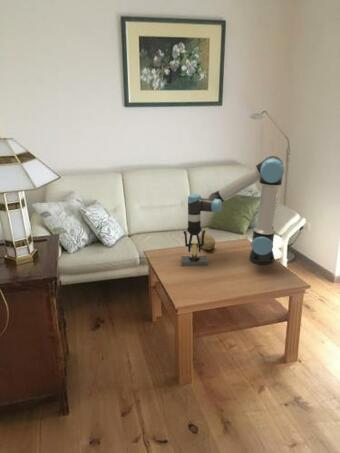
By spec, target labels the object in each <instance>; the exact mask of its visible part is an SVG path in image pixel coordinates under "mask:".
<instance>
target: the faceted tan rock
mask: <svg viewBox="0 0 340 453" xmlns="http://www.w3.org/2000/svg"><path fill="white" fill-rule="evenodd" d="M198 236H199V241H200V244H201V239H202V234H201V235H198ZM215 247H216V240H215V239H214V237H213V235H211V234H208V233H205V234H204V245H203V246H201V248H202V250H205V251H210V250H212V249H215Z"/></svg>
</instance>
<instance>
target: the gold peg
mask: <svg viewBox="0 0 340 453" xmlns="http://www.w3.org/2000/svg"><path fill="white" fill-rule="evenodd" d="M197 247H198V242H191V248H192V258H191V261H199V260H198V257H197Z"/></svg>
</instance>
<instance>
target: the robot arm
mask: <svg viewBox="0 0 340 453" xmlns="http://www.w3.org/2000/svg"><path fill="white" fill-rule="evenodd" d="M284 173H285V167H284V162H283V160H281V158H279V156H277V155H276V156H275V155H271V156H268V157H266V158H264V160H262V161H261V162H259V163H258V164H256V165H255V167H254V168H253V169H251V170H250V171H248V172H246V173H245V174H243V175H242V176H240V177H238V178H237V179H234V180H233V181H232V182H230V183H229V184H227V185H225V186H223V187H222V188H220V189H218V190H217V191H215V192H212V193H211V194H210V195H209V197H208V198H202V196H201V194H198V193H192V194H189V195H188V196H187V220H188V221H187V229H183V232H182V233H183V234H184V243H185V244H184V245H185V247H187V248H188V250H187V251H188V253H189V256H190V258H192V248H191V243H192V240H193V236H196V240H197V243H198V247H197V257H199V256H200V255H199V253H200V252H201V248H202V246H203V245H204V234H206V230H205V229H203V228H202V227H201V225H202V224H201V223H202V222H201V218H202V216H201V212H208V213H209V212H210V213H220V212H221V210H222V206H223V204H222V203H224V202H225V201H228V200H229V199H231V198H232V197H234V196H236V195H237V194H239V193H241V192H242V191H243V192H244V190H246V189H249V187H251V186H252V185H254V184H256V183H258V182H259V184H260V186H261V190H260V198H259V206H258V212H257V213H258V215H257V222H256V223H255V224H254V225H253V230H252V238H251V244H250V245H251V250H250V252H249V256H248V259H249V261H250V262H251V263H254V264H257V265H270V264H272V263H274V262H275V254H274V251H273V248H274V238H275V237H274V236H275V230H274V219H275V218H274V216H275V211H276V204H277V196H278V190H279V189H278V188H279V187H281V186H282V182H283V176H284ZM200 232H201V235H202V239H201V244H200V241H199V236H200V235H199V234H200ZM188 233H189V240H188V237H187V235H188Z"/></svg>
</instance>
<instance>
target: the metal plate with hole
mask: <svg viewBox="0 0 340 453" xmlns="http://www.w3.org/2000/svg"><path fill="white" fill-rule="evenodd" d="M180 261H181V266H182V267H185V266H186V267H189V266H191V267H192V266H193V267H195V266H197V267H198V266H200V267H201V266H209V259H208V256H207V255H199V257H198V261H191V258H190V255H181V256H180Z"/></svg>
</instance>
